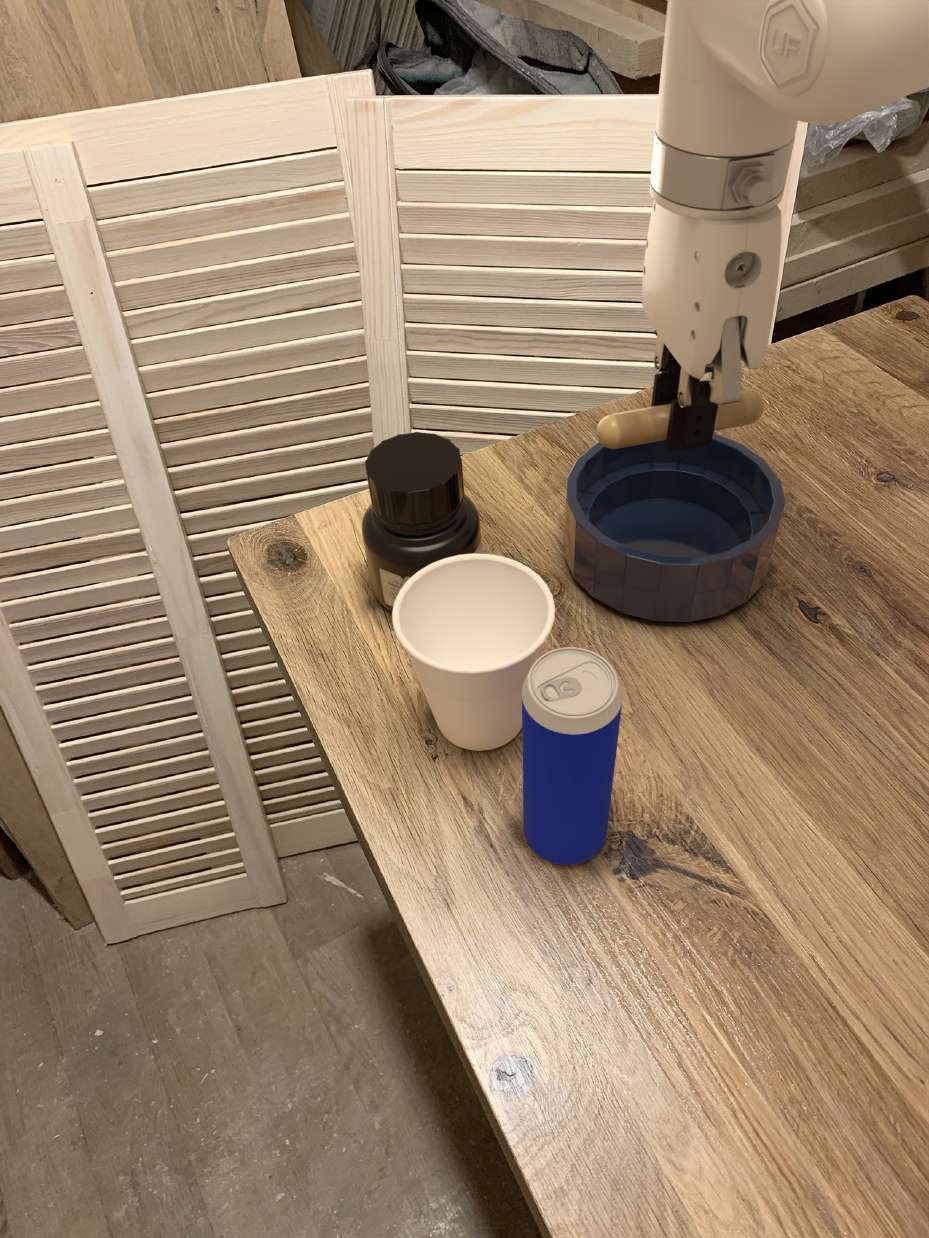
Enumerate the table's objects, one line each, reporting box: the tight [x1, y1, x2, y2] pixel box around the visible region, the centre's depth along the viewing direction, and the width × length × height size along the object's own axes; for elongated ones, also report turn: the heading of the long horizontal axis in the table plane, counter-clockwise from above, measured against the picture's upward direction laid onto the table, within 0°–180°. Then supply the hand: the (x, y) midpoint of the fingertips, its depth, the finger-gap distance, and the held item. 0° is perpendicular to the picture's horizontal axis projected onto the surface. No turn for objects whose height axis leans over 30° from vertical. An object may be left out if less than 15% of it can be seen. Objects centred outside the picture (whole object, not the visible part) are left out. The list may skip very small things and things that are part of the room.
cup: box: [391, 553, 556, 752], centre depth 60 cm, size 10×10×11 cm
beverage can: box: [521, 646, 624, 866], centre depth 52 cm, size 5×5×15 cm
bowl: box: [563, 432, 786, 623], centre depth 72 cm, size 16×16×6 cm
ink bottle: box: [361, 431, 484, 613], centre depth 69 cm, size 10×9×12 cm
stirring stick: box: [595, 389, 765, 449], centre depth 65 cm, size 12×2×2 cm, turn 103°
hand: (679, 431), depth 66 cm, fingers closed on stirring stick, 2 cm apart
